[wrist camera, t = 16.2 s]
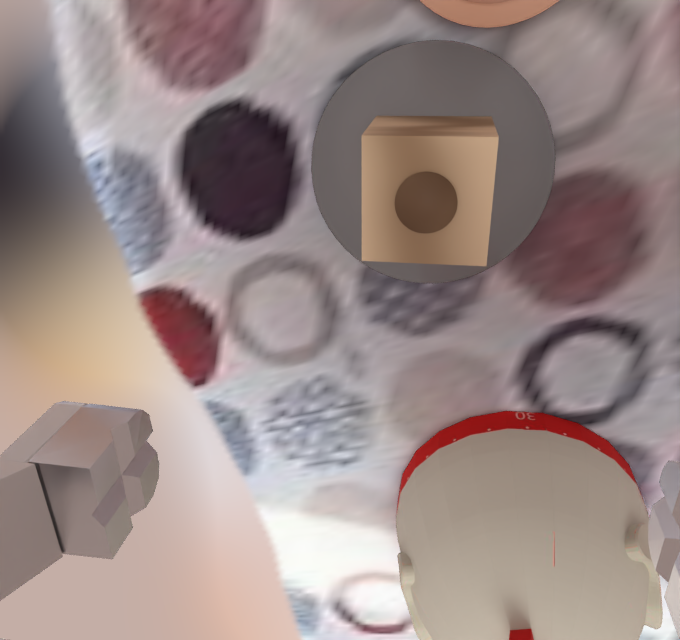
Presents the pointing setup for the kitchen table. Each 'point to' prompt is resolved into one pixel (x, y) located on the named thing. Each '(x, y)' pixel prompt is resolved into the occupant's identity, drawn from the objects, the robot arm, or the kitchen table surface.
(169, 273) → the kitchen table surface
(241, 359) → the kitchen table surface
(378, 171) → the oak block
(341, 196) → the coaster
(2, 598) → the robot arm
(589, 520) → the kitchen timer
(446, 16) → the ramekin
